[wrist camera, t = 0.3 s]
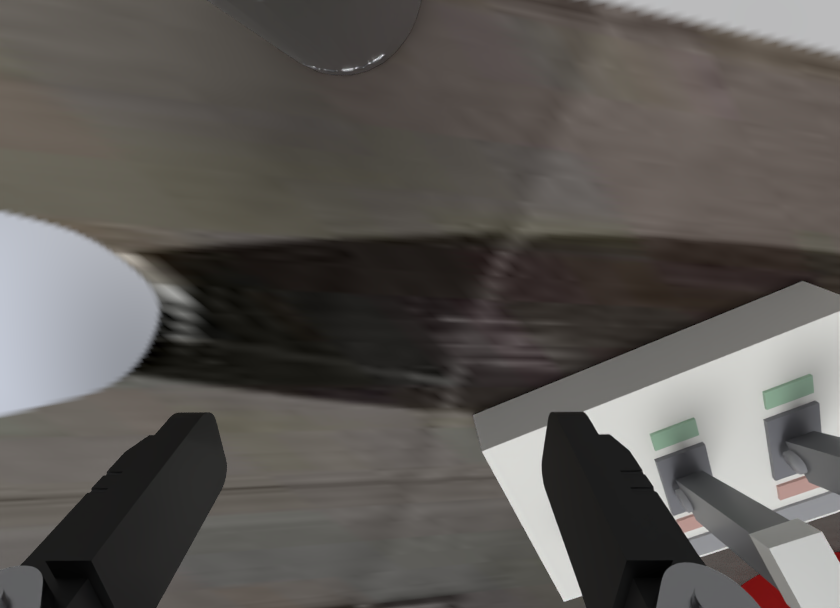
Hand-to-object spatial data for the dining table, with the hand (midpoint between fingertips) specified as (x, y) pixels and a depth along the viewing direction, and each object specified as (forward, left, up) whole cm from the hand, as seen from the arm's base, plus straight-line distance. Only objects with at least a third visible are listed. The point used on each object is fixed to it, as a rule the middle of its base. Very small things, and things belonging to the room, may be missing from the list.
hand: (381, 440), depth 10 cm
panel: (+20, +20, -18) cm, 34 cm away
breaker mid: (+20, +20, -13) cm, 31 cm away
